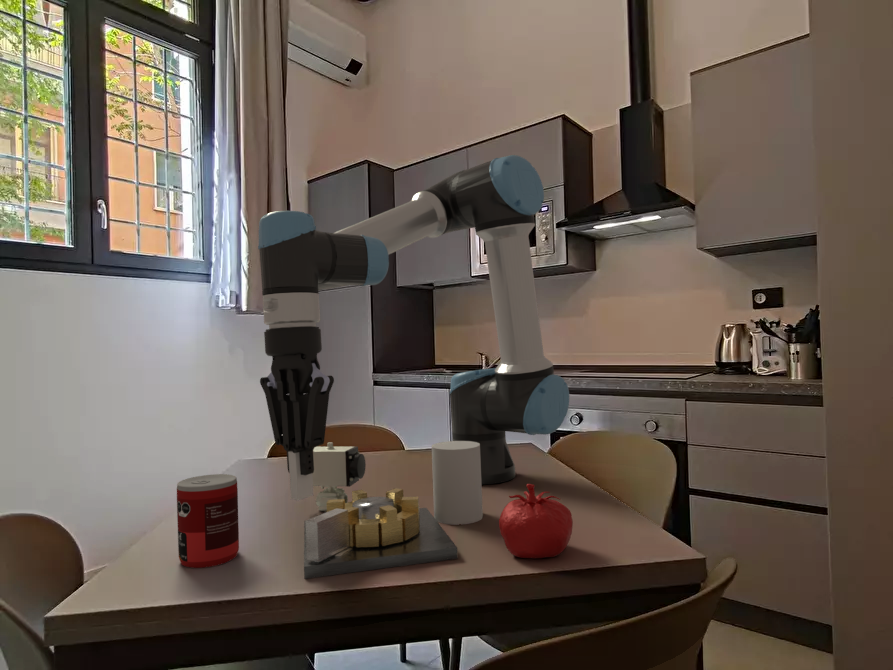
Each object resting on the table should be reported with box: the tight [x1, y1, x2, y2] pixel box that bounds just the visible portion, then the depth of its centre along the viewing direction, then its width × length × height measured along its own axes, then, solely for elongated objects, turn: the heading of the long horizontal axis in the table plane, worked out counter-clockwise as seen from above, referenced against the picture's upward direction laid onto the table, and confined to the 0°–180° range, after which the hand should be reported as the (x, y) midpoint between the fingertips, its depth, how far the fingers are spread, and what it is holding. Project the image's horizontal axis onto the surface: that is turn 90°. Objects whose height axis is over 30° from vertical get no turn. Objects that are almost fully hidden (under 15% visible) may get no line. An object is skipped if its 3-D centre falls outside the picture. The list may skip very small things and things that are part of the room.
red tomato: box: [498, 483, 574, 559], centre depth 78 cm, size 10×10×9 cm
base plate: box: [303, 496, 459, 579], centre depth 83 cm, size 20×20×6 cm
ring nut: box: [305, 487, 420, 562], centre depth 81 cm, size 20×13×5 cm
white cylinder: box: [431, 440, 484, 526], centre depth 95 cm, size 8×8×12 cm
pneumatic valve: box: [312, 441, 367, 512], centre depth 103 cm, size 6×12×12 cm, turn 78°
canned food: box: [176, 473, 240, 569], centre depth 80 cm, size 8×8×11 cm
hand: (302, 497), depth 78 cm, fingers closed
